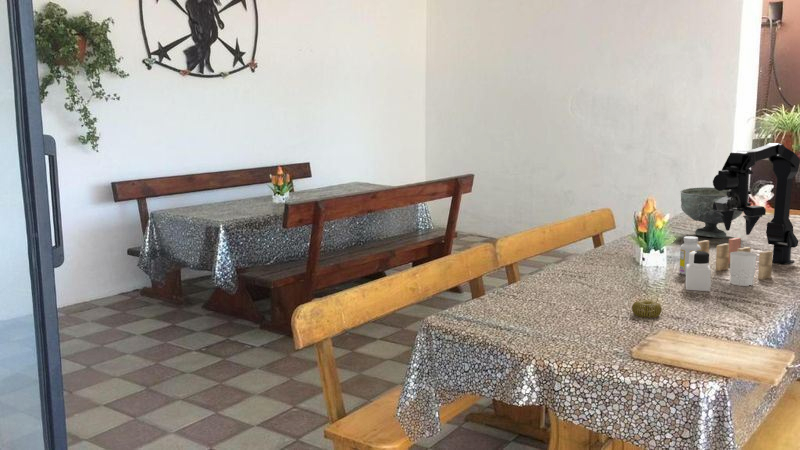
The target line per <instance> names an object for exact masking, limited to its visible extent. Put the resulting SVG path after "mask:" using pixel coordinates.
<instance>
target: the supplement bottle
mask: <svg viewBox="0 0 800 450" xmlns="http://www.w3.org/2000/svg"><path fill="white" fill-rule="evenodd" d="M683 242H684V243H682V244H681V245H680V249H679V250H680V251H679V252H680V253H679V273H680V274H681V275H685V276H686V265H687V264H689V253H690V252H692V251H701V247H700V245H698V244H697V242H699V237H698V236H691V235H690V236H687V235H686V236H683Z"/></svg>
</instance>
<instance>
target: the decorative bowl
mask: <svg viewBox="0 0 800 450" xmlns="http://www.w3.org/2000/svg"><path fill="white" fill-rule="evenodd" d="M727 191H730V190H723V191H718V190H716V189H715V188H714V187H707V186H706V187H689V188H686V189H684V188H683V189H682V190H681V191H680V201H681V203H680V208H681V210H682V212H683V213H684V215H687V216H688V217H689V218H690V219H691V220H693V221H696V222H701V223H704V225H705V226H704V227H699V228H696V230H695V231H694V233H695V235H696V236H700V237H709V238H716V239H717V238H719V239H721V238H726V237H727V233H726V232H725V231H724V230H723V229H720V228H718V224H724V222H723V219H722V217H721V215H720V214H719V213H718V212H716V210H714V209H713V204H714V202H715V201H717V200H719V199H721V198H722V197H725V196H726V195H727ZM735 208H737V207H735ZM740 209H742V208H740ZM730 210H731V209H730ZM742 213H744V212H743V211H737V210H734V213H733V217H732V221H734V220H736V219H737V218H738V217H740V216H741V215H742Z"/></svg>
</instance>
